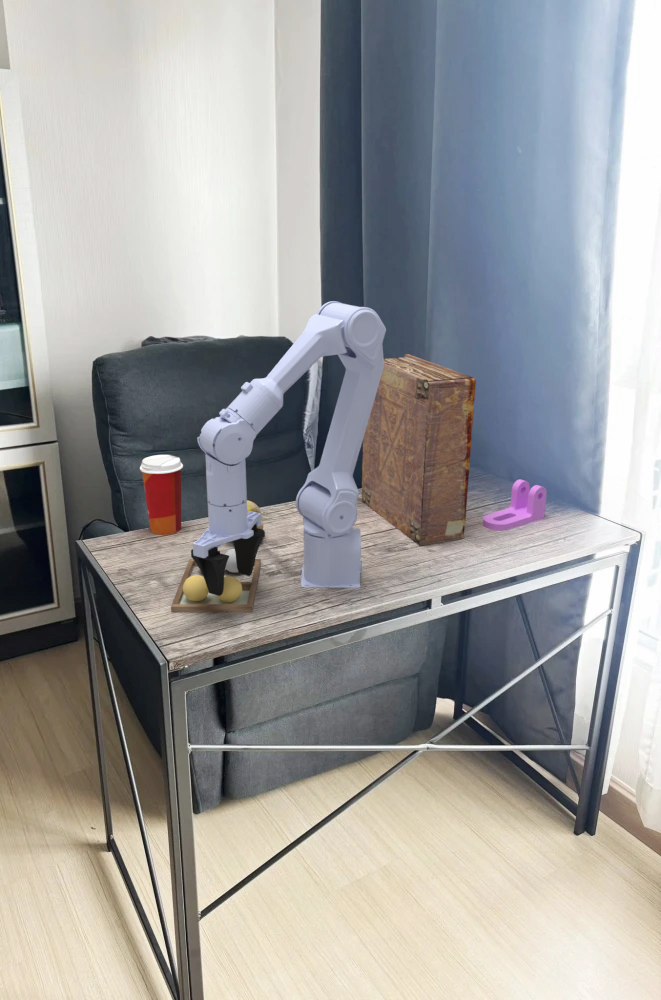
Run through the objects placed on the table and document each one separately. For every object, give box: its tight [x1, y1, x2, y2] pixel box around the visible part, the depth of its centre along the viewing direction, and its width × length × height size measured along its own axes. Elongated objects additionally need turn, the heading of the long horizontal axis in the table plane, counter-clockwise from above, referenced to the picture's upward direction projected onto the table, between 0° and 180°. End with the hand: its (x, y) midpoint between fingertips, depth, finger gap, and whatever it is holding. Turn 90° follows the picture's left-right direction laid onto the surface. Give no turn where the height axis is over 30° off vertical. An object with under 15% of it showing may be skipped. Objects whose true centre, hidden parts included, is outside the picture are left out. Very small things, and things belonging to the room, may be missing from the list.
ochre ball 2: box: [217, 575, 242, 602], centre depth 122 cm, size 4×4×4 cm
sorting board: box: [170, 558, 262, 614], centre depth 127 cm, size 12×17×2 cm
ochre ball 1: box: [183, 574, 209, 601], centre depth 123 cm, size 4×4×4 cm
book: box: [361, 353, 477, 547], centre depth 152 cm, size 25×9×30 cm, turn 23°
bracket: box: [482, 479, 547, 532], centre depth 155 cm, size 13×6×7 cm, turn 126°
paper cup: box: [139, 454, 184, 536], centre depth 148 cm, size 8×8×14 cm
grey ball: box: [224, 548, 239, 574], centre depth 132 cm, size 4×4×4 cm
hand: (230, 583), depth 122 cm, fingers open, 7 cm apart
